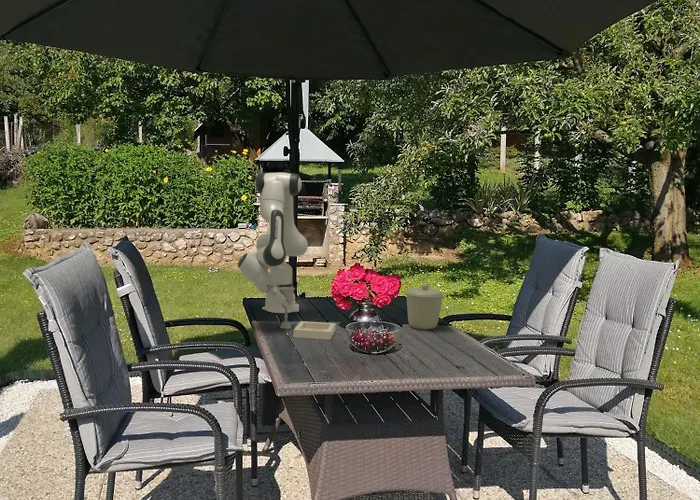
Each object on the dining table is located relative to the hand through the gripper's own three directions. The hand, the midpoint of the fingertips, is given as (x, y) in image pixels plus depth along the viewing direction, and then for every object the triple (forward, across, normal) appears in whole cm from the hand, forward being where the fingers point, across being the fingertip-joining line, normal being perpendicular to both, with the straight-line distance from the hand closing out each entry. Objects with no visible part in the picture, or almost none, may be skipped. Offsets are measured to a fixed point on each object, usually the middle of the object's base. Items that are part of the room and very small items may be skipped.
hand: (287, 304), depth 311 cm
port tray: (+15, -14, 0) cm, 20 cm away
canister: (+52, -5, -37) cm, 65 cm away
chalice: (+7, 0, +8) cm, 11 cm away
